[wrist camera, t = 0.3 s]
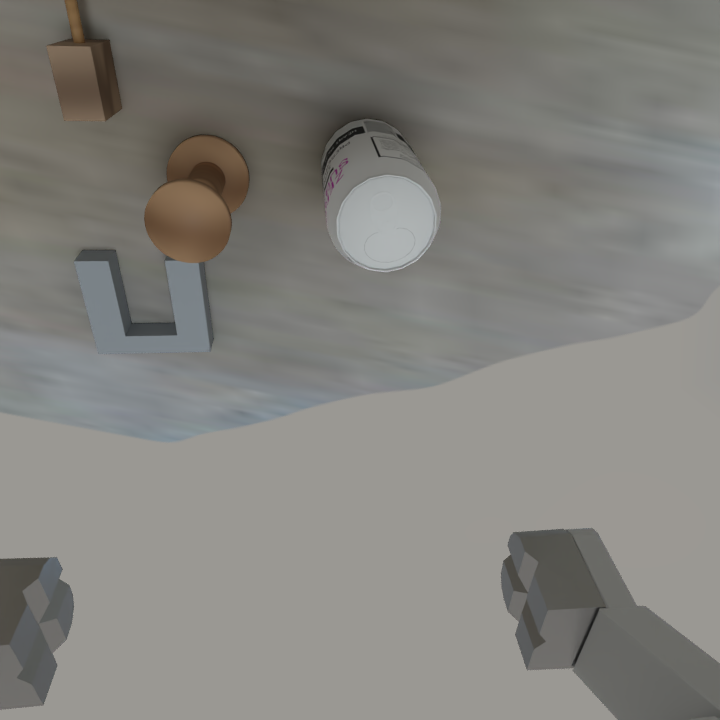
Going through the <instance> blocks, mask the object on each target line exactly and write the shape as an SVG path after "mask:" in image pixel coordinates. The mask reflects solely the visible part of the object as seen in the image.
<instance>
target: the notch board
mask: <svg viewBox="0 0 720 720" xmlns="http://www.w3.org/2000/svg"><path fill="white" fill-rule="evenodd" d="M74 264H75V268H76V271H77V275H78V279H79V283H80V286H81V290H82V294H83V298H84V302H85V305H86V309H87V313H88V317H89V321H90V324H91V328H92V332H93V336H94V339H95V343H96V347H97V351H98V354H126V353H172V352H211V347H212V343H213V339H214V338H213V331H212V323H211V315H210V308H209V300H208V292H207V285H206V277H205V269H204V262H200V263H186V262H181V261H177V260H175V259H172V258H170V257H169V256H167V257H166V259H165V266H166V271H167V277H168V283H169V289H170V295H171V301H172V307H173V313H174V318H175V323H139V324H132V323H131V319H130V314H129V310H128V305H127V301H126V296H125V291H124V287H123V282H122V278H121V273H120V269H119V264H118V259H117V255H116V250H82V252H81V253H80V254H79V256H78V257H77V258H76V259H75V261H74Z"/></svg>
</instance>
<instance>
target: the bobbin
mask: <svg viewBox="0 0 720 720" xmlns="http://www.w3.org/2000/svg"><path fill="white" fill-rule="evenodd" d="M167 181H168V182H167V183H165V184H163V185H162V186H160V187H159V188H158V189H157V190H156V191H155V192H154V194H153V195H152V197H151V198H150V200H149V202H148V204H147V206H146V209H145V217H144V220H145V227H146V230H147V233H148V235H149V237H150V239H151V241H152V242H153V243H154V245H155V246H156V247H157V248H158V249H159V250H160V251H161V252H163V253H164V254H165V255H167V256H169V257H170V258H172V259H175V260H177V261H181V262H186V263H200V262H205V261H208V260H210V259H212V258H214V257H215V256H217V255H218V254H219V253H220V252H221V251H222V250H223V249H224V248H225V246H226V244H227V242H228V240H229V236H230V232H231V227H232V219H231V214H230V213H232V212H233V211H235V210H236V209H237V208H238V207H239V206H240V205H241V204H242V203H243V201H244V199H245V197H246V195H247V191H248V187H249V171H248V167H247V164H246V162H245V160H244V158H243V156H242V155H241V153H240V152H239V151H238V150H237V149H236V148H235V147H234V146H233V145H232V144H230V143H229V142H227V141H226V140H224V139H222V138H219V137H216V136H212V135H197V136H193V137H190V138H188V139H186V140H184V141H183V142H182V143H180V144H179V145H178V146H177V148H176V149H175V150H174V152H173V153H172V155H171V157H170V159H169V162H168V165H167Z"/></svg>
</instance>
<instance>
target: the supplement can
mask: <svg viewBox="0 0 720 720" xmlns="http://www.w3.org/2000/svg"><path fill="white" fill-rule="evenodd" d="M321 171H322V184H323V194H324V203H325V213H326V222H327V230H328V233H329V235H330V237H331V240H332V242H333V244H334V247H335V248H336V249H337V250H338V251H339V252H340V253H341V254H342V255H343V256H344V257H345V258H346V259H347V260H348V261H349V262H351V263H353V264H356V265H358V266H360V267H362V268H364V269H368V270H372V271H380V272H389V271H394V270H399V269H403V268H405V267H406V266H408V265H410V264H412V263H413V262H415V261H417V260H418V259H419V258H420V257H421V256H422V255H423V253H424V252H425V251H426V250H427V249H428V248H429V246H430V245H431V244H432V242H433V240H434V238H435V235H436V233H437V231H438V228H439V226H440V216H441V203H440V200H439V197H438V194H437V190H436V187H435V185H434V184H433V182H432V181H431V179H430V177H429V176H428V174H427V173H426V171H425V169H424V168H423V166H422V165H421V163H420V161H419V160H418V158H417V157H416V155H415V153H414V152H413V150H412V149H411V147H410V146H409V144H408V142H407V141H406V140H405V138H404V137H403V136H402V135H401V133H400V132H399V131H398V130H397V129H396V128H394V127H392V126H391V125H389V124H387V123H386V122H384V121H379V120H373V119H362V120H358V121H353V122H350V123H348V124H347V125H345V126H344V127H342V128H340V129H339V130H337V131H336V132H335V134H334V135H333V136H332V138H331V139H330V140H329V142H328V143H327V144H326V146H325V150H324V153H323V156H322V159H321Z"/></svg>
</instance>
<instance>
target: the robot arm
mask: <svg viewBox="0 0 720 720" xmlns="http://www.w3.org/2000/svg"><path fill="white" fill-rule="evenodd" d="M508 548H509V551H510V553H511V555H510V556H509V557H508V558H506V559H505V560H504V561H503V566H502V571H501V583H502V591H503V597H504V601H505V604H506V607H507V610H508V612H509V613H510V614H511V615H512V616H513V617H514V618H515V619H516V620H518V621H519V624H518V627H517V630H516V634H515V635H516V638H517V641H518V644H519V647H520V650H521V654H522V656H523V659H524V663H525V665H526V669H527V670H541V669H564V668H574V669H573V671H574V673H576V675H577V676H578V677H579V678H580V679H581V680H582V681H583V682H584V683H585V685H586V686H587V687H589V689H590V690H591V691H592V692H593V693H594V694H595V695H596V696H597V698H599V700H600V701H601V702H602V703H603V704H604V705H605V706H606V707H607V708H608V710H609V711H610V712H611V713H612V714H613V715H614V716H615V717H616V718H617V719H618V720H720V663H718V662H717V661H716V660H715V659H713V658H712V657H711V656H710V655H708V654H707V653H706V652H704V651H703V650H702V649H700V648H699V647H698V646H696V645H695V644H694V643H693V642H691V641H690V640H689V639H687V638H686V637H685V636H684V635H682V634H681V633H679V632H678V631H677V630H676V629H674V628H673V627H672V626H671V625H669V624H668V623H666V622H665V621H664V620H663V619H661V618H660V617H659V616H657V615H656V614H655V613H654V612H652V611H651V610H650V609H648V608H647V607H646V606H637V605H636V603H635V602H634V599H633V598H632V596H631V594H630V592H629V590H628V588H627V586H626V585H625V583H624V581H623V579H622V577H621V575H620V573H619V571H618V570H617V568H616V566H615V564H614V562H613V561H612V559H611V557H610V555H609V553H608V551H607V549H606V547H605V545H604V544H603V542H602V540H601V538H600V536H599V534H598V533H597V532H596V531H595V530H594V529H592V528H583V529H568V530H564V529H556V530H541V531H527V532H514V533H513V534H512V535H511V536H510V539H509V542H508ZM62 570H63V569H62V567H61V565H60V563H59V561H58V559H57V557H53V558H52V557H51V558H21V559H20V558H17V559H16V558H15V559H0V710H2V709H11V708H22V707H31V706H40V705H41V706H42V705H44V702H45V699H46V696H47V693H48V691H49V688H50V685H51V682H52V679H53V676H54V674H55V671H56V668H57V663H56V661H55V658H54V656H53V652H54V651H55V650H56V649H57V648H58V647H59V646H61V644H62V643H64V642H65V641H66V639H67V636H68V633H69V630H70V627H71V624H72V618H73V610H74V601H73V594H72V591H71V588H70V586H69V585H68V584H67V583H65V582H63V581H62V580H60V579H59V577H60V575H61V572H62Z"/></svg>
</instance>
